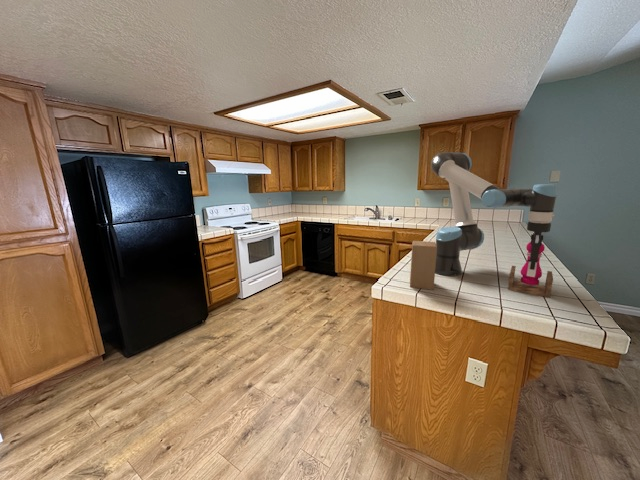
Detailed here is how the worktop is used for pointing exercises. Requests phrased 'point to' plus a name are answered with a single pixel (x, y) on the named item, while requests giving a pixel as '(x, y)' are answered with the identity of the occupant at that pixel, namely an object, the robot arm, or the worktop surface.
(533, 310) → the worktop surface
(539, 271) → the pepper mill
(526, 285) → the holder
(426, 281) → the wooden block
